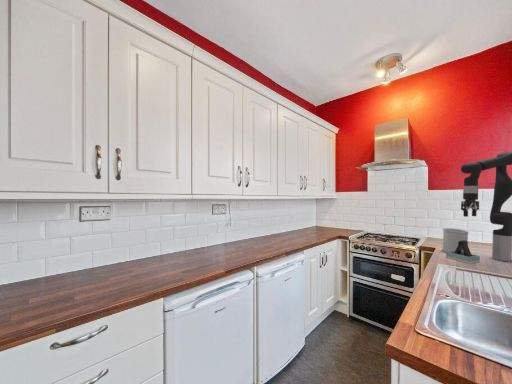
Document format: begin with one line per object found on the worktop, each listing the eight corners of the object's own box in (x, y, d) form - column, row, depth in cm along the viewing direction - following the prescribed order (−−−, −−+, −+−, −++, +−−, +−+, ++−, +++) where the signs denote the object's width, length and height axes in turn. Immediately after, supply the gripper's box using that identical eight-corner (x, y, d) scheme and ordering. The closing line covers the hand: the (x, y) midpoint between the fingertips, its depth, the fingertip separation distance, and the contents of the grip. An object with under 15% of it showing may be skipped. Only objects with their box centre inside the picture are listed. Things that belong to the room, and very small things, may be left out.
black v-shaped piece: (473, 259, 155) (473, 241, 155) (468, 260, 153) (469, 242, 153) (456, 255, 164) (457, 239, 163) (452, 256, 161) (452, 239, 161)
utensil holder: (473, 255, 169) (474, 231, 169) (453, 254, 170) (453, 231, 169) (456, 249, 184) (457, 228, 184) (437, 249, 184) (438, 227, 184)
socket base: (456, 256, 166) (456, 250, 166) (479, 261, 153) (479, 255, 153) (446, 257, 163) (446, 251, 163) (468, 263, 150) (469, 257, 150)
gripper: (471, 192, 161) (470, 215, 162) (457, 192, 157) (456, 215, 157) (484, 192, 154) (483, 216, 154) (470, 192, 150) (469, 217, 150)
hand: (469, 216), depth 156 cm, fingers open, 8 cm apart
